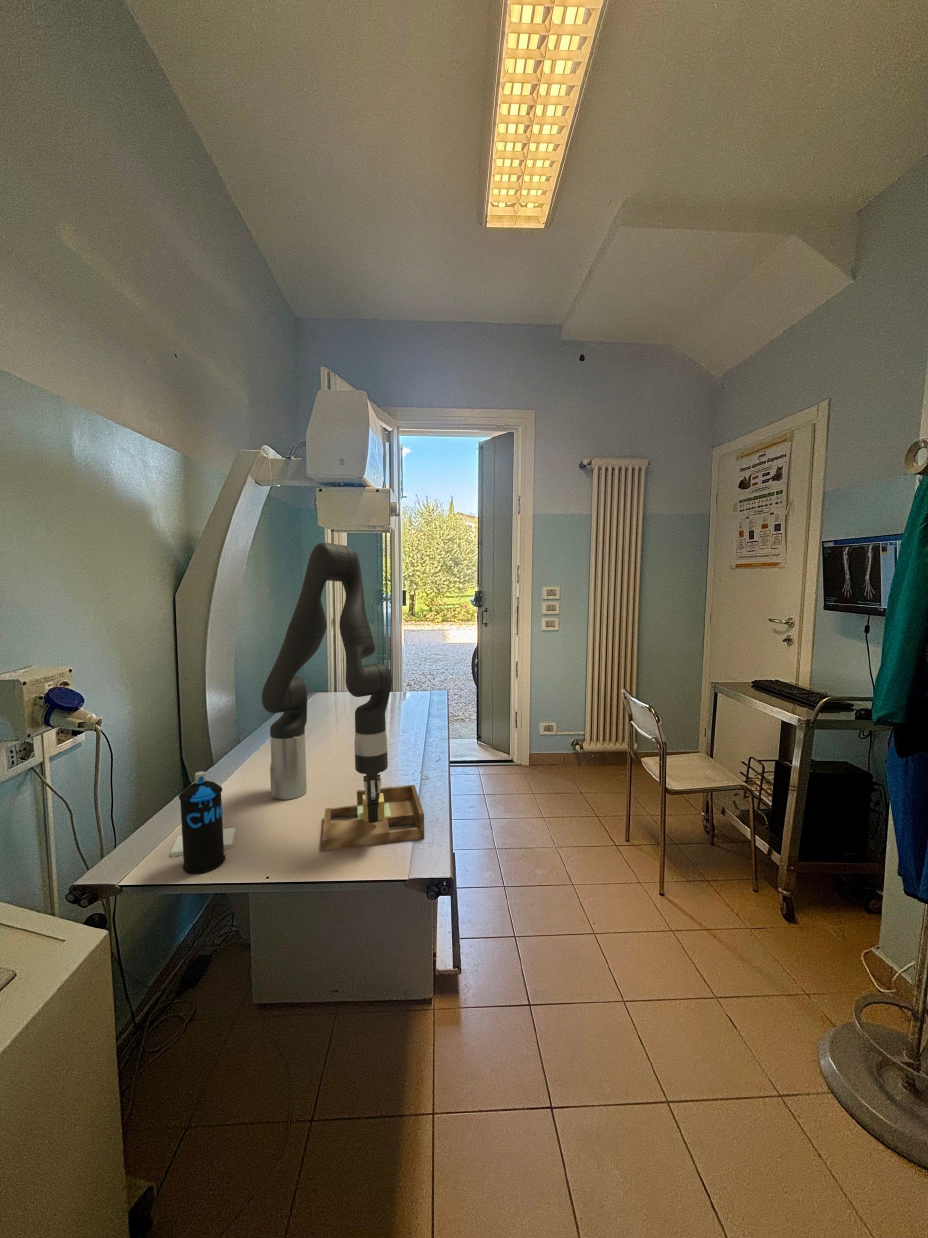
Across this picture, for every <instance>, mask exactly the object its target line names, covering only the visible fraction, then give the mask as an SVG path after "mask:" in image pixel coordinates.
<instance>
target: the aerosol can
mask: <svg viewBox="0 0 928 1238" xmlns="http://www.w3.org/2000/svg"><path fill="white" fill-rule="evenodd" d="M222 792H223V787H222V786H221V785H219V784H218V783H216V782H214V781H211V780H206V772H205V771H202V770H201V771H197V772H195V773H194V782H193V783H191V784H189V785H187V786H186V787H185V788H184V789H183V790H182V791H181V792H180V794H179V795H178V799H179V801H180V802H179V803H180V817H181V818H180V820H181V835H182V840H183V855H182V856H183V865H182V871H183V872H185V873H187V874H190V875H200V874H205V873H208V872H212V871H214V870H216V869H218V868H219V867H221V866H222V865H223V864H224V862H225V861H226V859H227V858H226V855H225V849H224V843H223V829H224V828H223V827H224V825H223V804H222V803H223V802H222Z"/></svg>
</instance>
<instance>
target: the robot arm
mask: <svg viewBox="0 0 928 1238" xmlns="http://www.w3.org/2000/svg"><path fill="white" fill-rule="evenodd" d="M329 581H330V582H341V584H342V586H343V589H344V592H345V599H344V604H343V607H342V610H341V614H340V618H339V623H338V624H339V633H340V637H341V640H342V644H343V648H344V652H345V686H346V689H347V691H348V692H349V694H350V695H351V696H353V697H356V698H362V697H368V696H370V697H369V700H368V701H367V702H365V703H363V704H361V705H359V706H357V707H356V708H355V710H354V729H355V733H354V767H355V771H356V772H357V773H359V774H362V776H363V777H362V779H363V788H364V790H365V799H367V807H368V821H369V823H376V822H378V807H379V798H380V788H381V786H382V779H381V774H380V773H383V772H386V770H387V769H388V766H389V762H388V761H389V759H388V755H389V754H388V736H387V729H386V728H387V726H386V723H387V722H386V712H387V707H388V704H389V699H390V694H391V690H392V688H393V687H392V685H393V676H392V675H393V674H392V672H391V670H390V668H389V667H388V665H386V664H384V663H373V664H365V665H363V664H362V659H366V658H368V657H371V656H372V655H373V654H374V653H375V652H376V644H375V641H374V637H373V634H372V630H371V626H370V624H369V620H368V619H369V618H368V615H367V611H366V610H367V609H366V605H365V595H364V585H363V579H362V570H361V563H360V559H359V556H358V553H357V551H356V550H355V549H354V548H353V547H351V546H350V545H343V544H337V543H331V542H319V543H317V544H316V545H315V546H314V548H313V549H312V551H311V553H310V556H309V559H308V562H307V566H306V569H305V575H304V578H303V582H302V587H301V591H300V594H299V597H298V600H297V603H296V606H295V609H294V611H293V614H292V617H291V619H290V622H289V625H288V626H287V630H286V633H285V635H284V640H283V643H282V645H281V648H280V650H279V653H278V655H277V658H276V659H275V663H274V664H273V667H272V669H271V671H270V672H269V674H268V676H267V679H266V681H265V683H264V685H263V688H262V691H261V704H262V706H263V708H264V710H265V711H266V712H267V713H270V714H279V713H282V715H280V717H279V718H278V719H277V720H275V721H274V722H273V723H272V724H271V725H270V728H269V735H270V737H269V738H270V739H269V740H270V742H269V743H270V761H271V762H270V765H269V776H270V797H271V798H270V799H271V800H273V799H278V800H294V799H297V798H299V797H301V796H304V795H305V794H306V793H307V787H308V785H307V761H306V760H307V759H306V758H307V757H306V734H305V733H306V732H305V729H306V725H307V721H308V690H307V686H306V683H305V682H304V680H303V678H301V677H300V676H297V675H296V674H297V673H298V672H299V671H300V669H302V667H304V666H305V664H307V663H308V661H310V659H312V657H313V656H315V654H316V653H317V651H318V650H319V648H320V646H321V645H322V641H323V638H325V637H324V636H325V634H326V631H327V623H328V622H327V617H326V614H325V613H326V612H325V610H324V607H323V604H322V596H323V591H324V587H325V585H326V583H327V582H329ZM363 774H364V775H363Z"/></svg>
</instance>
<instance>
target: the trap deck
mask: <svg viewBox="0 0 928 1238" xmlns="http://www.w3.org/2000/svg"><path fill="white" fill-rule="evenodd" d="M380 793H383V797H384V817H385V820H378V822H376V823H369V821H366V822H364V821H363V795H365V789H358V790H356V805H346V806H337V807H329V808H328V807H327V808H325V809H324V817H323V828H322V839H321V844H322V845H321V846H322V847H321V848H322V850H321V851H322V852H325V851H334V850H341V849H349V848H350V849H351V848H358V847H366V846H375V845H383V844H390V843H397V842H405V841H406V842H407V841H414V840H415V841H416V840H423V839H425V812H424V810H423V806H422V803H421V801H420V798H419V794H418V791H417V789H416V786H415V784H410V785H409V784H407V785H399V786H387V787H380Z"/></svg>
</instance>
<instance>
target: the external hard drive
mask: <svg viewBox="0 0 928 1238" xmlns="http://www.w3.org/2000/svg"><path fill="white" fill-rule="evenodd" d="M236 832H237V827H230V828H223V843H224V850H225V849H231V848H233V845H234V841H235V837H236V835H237V833H236ZM180 856H183V840H182V834H179V835H177V838H176V840H175V841H174V844H173V846H172V848H171V850H170V856H169V857H170V858H174V857H180Z"/></svg>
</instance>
